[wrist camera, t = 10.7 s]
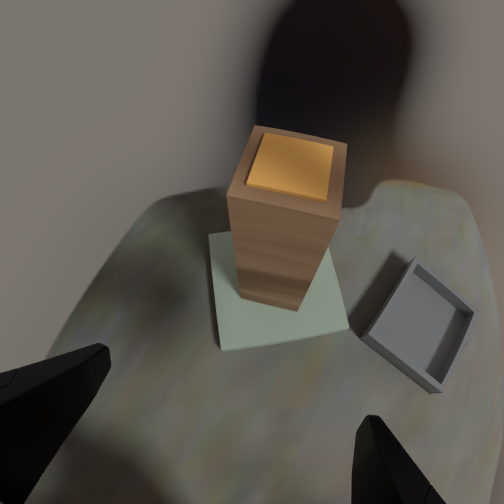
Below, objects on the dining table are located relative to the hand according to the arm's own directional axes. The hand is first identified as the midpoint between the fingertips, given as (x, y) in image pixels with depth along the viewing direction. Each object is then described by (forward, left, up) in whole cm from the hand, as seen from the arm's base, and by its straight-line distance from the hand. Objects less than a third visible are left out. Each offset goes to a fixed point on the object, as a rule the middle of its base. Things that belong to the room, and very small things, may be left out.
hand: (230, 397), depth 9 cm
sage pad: (+8, +5, -14) cm, 16 cm away
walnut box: (+8, +5, -13) cm, 16 cm away
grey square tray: (+15, -7, -14) cm, 21 cm away
